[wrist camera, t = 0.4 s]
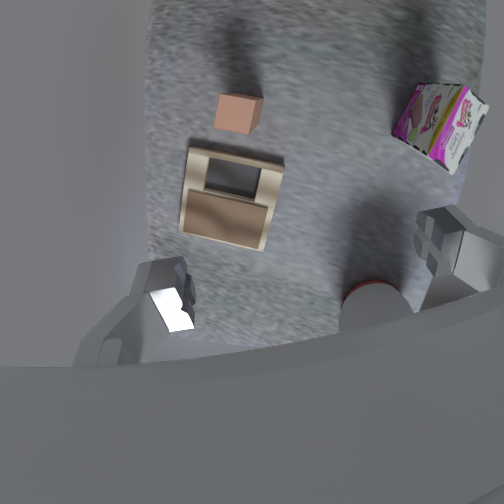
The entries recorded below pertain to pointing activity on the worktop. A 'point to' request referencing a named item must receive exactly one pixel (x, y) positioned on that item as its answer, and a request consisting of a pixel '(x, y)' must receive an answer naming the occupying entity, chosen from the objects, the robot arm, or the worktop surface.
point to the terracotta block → (238, 112)
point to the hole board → (229, 197)
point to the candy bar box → (441, 122)
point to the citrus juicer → (372, 305)
